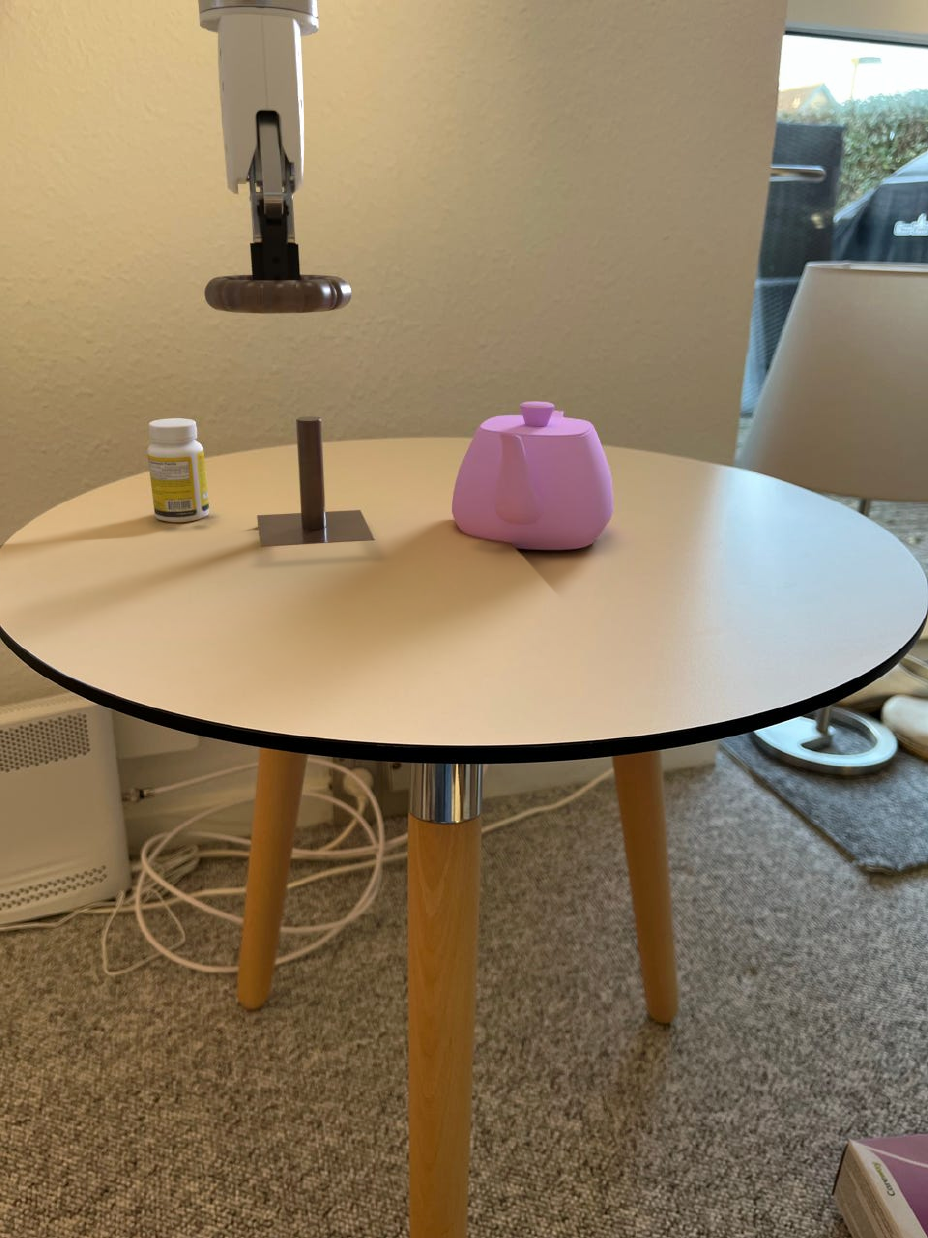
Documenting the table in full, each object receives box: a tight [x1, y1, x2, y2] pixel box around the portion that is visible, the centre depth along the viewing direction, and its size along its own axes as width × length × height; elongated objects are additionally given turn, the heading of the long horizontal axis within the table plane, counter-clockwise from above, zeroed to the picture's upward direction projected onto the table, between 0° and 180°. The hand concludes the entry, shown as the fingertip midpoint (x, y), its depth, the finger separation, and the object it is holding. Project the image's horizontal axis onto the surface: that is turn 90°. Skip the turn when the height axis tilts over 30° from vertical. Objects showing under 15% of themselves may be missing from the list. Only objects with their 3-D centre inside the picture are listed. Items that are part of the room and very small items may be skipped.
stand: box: [256, 415, 376, 548], centre depth 80 cm, size 9×9×10 cm
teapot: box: [451, 400, 614, 551], centre depth 81 cm, size 13×20×11 cm
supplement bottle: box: [146, 417, 210, 523], centre depth 86 cm, size 5×5×8 cm
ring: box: [203, 274, 352, 315], centre depth 66 cm, size 10×10×2 cm
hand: (277, 301), depth 70 cm, fingers closed on ring, 2 cm apart
